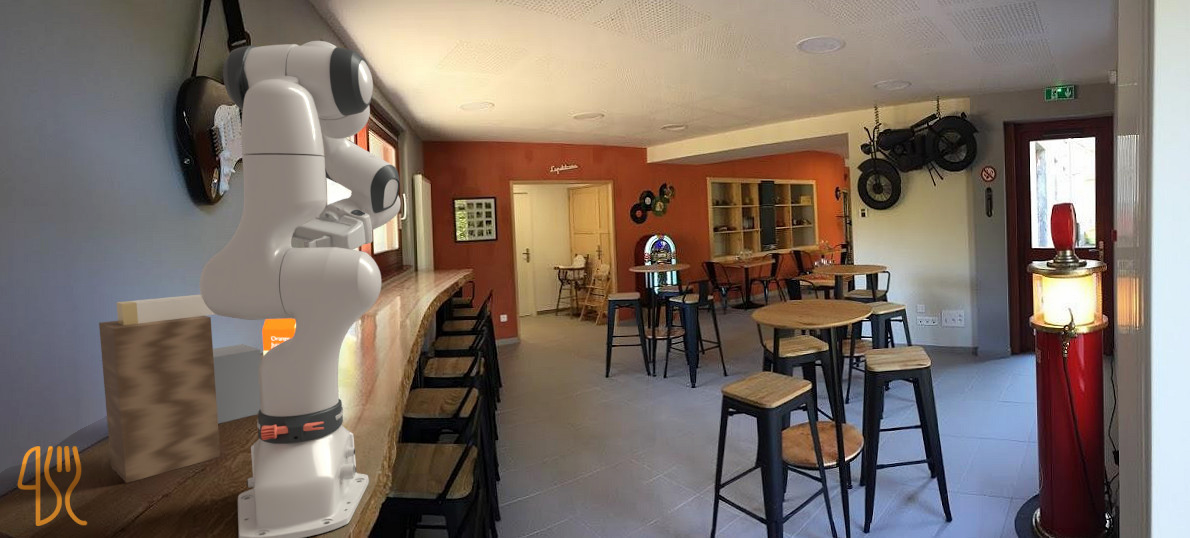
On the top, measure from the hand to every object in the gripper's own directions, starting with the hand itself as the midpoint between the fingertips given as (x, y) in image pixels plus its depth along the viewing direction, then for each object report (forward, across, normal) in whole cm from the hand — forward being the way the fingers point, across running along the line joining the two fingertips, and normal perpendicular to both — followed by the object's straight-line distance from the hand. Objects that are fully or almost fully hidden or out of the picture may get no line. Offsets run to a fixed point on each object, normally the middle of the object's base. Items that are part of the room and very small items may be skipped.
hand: (289, 242), depth 121 cm
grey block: (+9, -17, +42) cm, 46 cm away
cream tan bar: (+19, -6, +9) cm, 22 cm away
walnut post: (+31, -3, +32) cm, 45 cm away
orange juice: (-16, -30, +52) cm, 63 cm away
